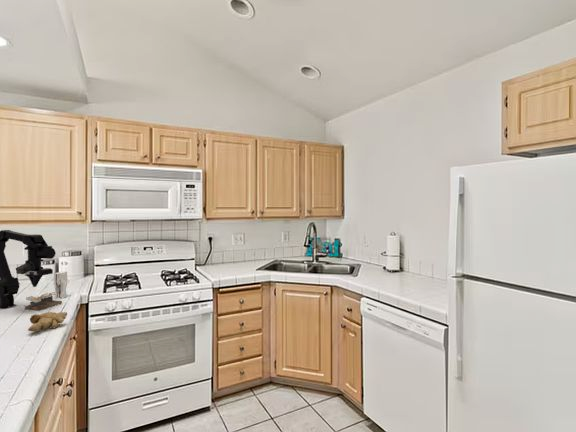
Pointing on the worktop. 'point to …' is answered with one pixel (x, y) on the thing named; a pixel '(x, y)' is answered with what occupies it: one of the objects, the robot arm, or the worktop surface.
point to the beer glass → (60, 284)
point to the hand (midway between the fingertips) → (34, 286)
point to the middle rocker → (43, 296)
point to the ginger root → (46, 320)
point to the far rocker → (51, 294)
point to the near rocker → (33, 299)
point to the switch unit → (43, 304)
